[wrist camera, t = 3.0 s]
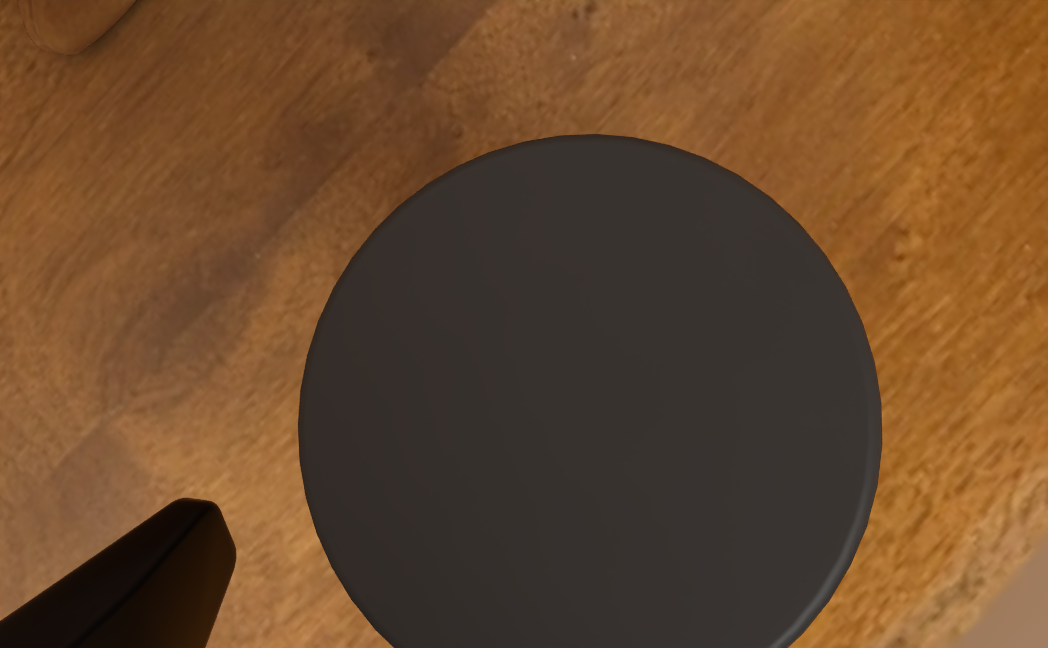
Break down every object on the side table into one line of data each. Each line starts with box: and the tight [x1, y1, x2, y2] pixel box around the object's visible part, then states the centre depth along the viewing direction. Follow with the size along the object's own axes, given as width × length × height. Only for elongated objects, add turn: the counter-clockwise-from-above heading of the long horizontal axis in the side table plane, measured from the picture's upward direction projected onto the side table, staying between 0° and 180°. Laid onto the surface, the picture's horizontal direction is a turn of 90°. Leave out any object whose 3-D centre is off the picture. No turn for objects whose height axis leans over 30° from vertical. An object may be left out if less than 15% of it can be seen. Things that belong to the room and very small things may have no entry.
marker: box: [298, 134, 882, 648], centre depth 12 cm, size 3×3×14 cm
